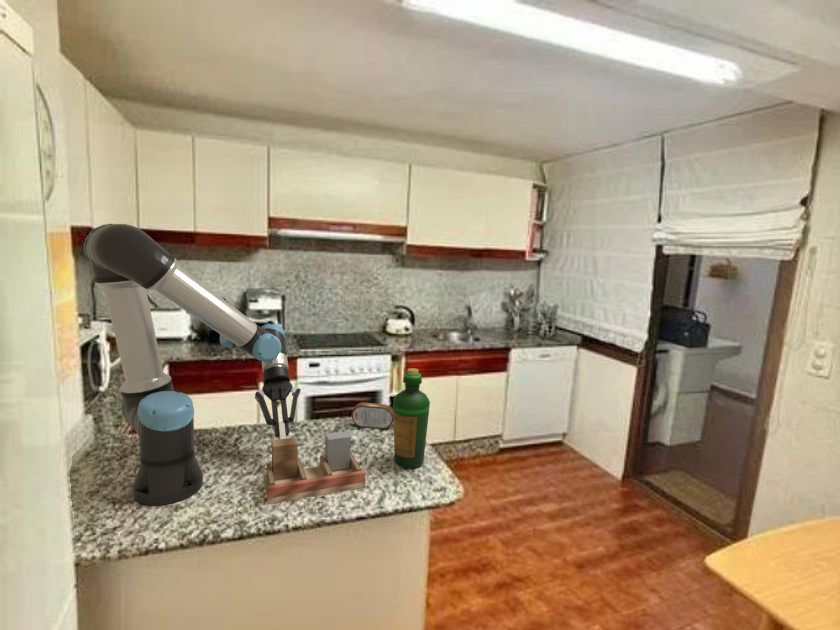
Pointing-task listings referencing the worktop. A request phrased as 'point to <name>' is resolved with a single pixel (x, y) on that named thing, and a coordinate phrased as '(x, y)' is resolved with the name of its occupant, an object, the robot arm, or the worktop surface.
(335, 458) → the grey block
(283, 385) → the robot arm
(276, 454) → the brown box
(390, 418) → the tin
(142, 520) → the worktop surface
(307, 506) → the worktop surface
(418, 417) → the bottle
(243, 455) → the worktop surface
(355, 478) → the wooden compartment tray
